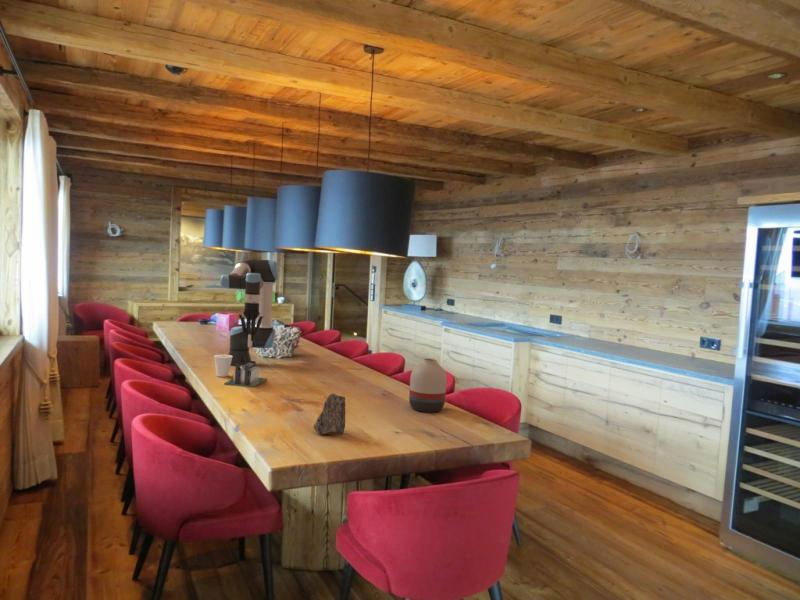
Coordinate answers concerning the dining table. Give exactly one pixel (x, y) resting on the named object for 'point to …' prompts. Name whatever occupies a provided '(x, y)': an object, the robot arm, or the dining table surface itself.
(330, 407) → the stone
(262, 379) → the green circuit board
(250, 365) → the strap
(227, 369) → the cup
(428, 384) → the vase
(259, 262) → the robot arm
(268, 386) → the dining table surface
